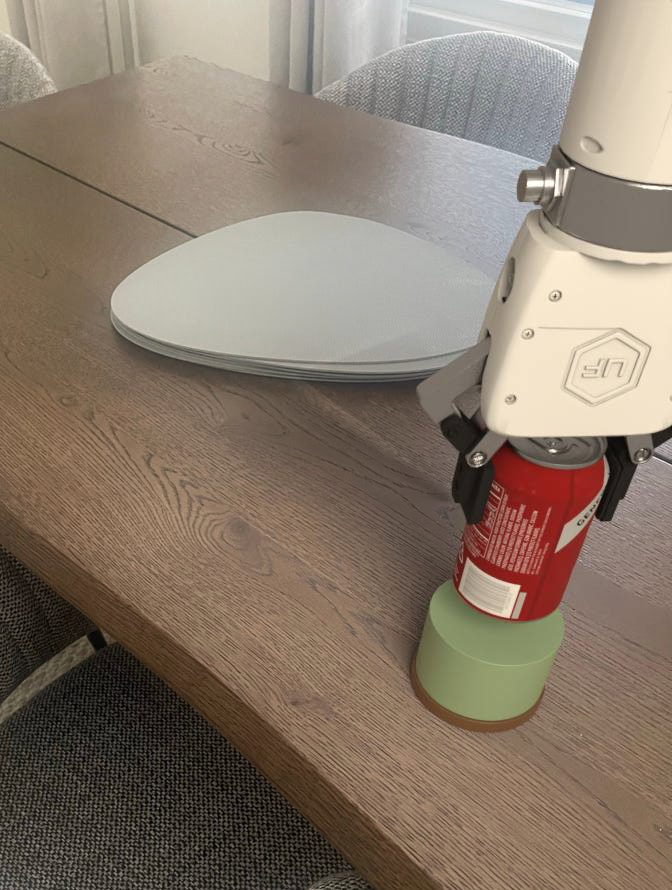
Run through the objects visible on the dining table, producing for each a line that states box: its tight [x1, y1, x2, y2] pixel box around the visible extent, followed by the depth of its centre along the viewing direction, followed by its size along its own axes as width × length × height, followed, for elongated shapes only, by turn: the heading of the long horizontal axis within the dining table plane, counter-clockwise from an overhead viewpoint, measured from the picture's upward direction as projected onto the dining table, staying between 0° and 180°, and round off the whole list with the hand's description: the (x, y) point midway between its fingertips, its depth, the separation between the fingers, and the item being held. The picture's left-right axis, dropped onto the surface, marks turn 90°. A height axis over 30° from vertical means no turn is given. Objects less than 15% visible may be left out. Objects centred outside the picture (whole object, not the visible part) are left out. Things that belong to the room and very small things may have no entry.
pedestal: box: [409, 577, 566, 733], centre depth 65 cm, size 9×9×6 cm
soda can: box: [451, 437, 609, 624], centre depth 57 cm, size 7×7×12 cm
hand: (532, 506), depth 56 cm, fingers closed on soda can, 6 cm apart
